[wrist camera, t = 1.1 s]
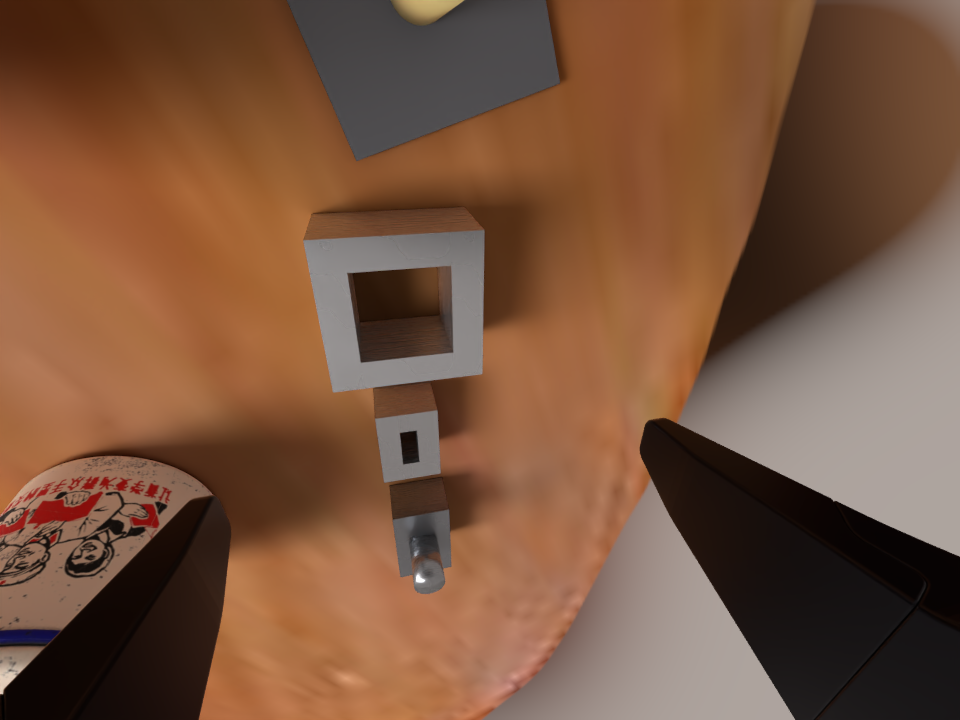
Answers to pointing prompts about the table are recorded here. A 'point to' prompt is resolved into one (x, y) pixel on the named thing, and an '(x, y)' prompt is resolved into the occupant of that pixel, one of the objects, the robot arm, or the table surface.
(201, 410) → the table surface
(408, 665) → the table surface
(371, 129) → the grey peg holder
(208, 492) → the teacup with lid
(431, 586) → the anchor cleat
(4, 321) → the table surface
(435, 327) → the end link
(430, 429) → the link
